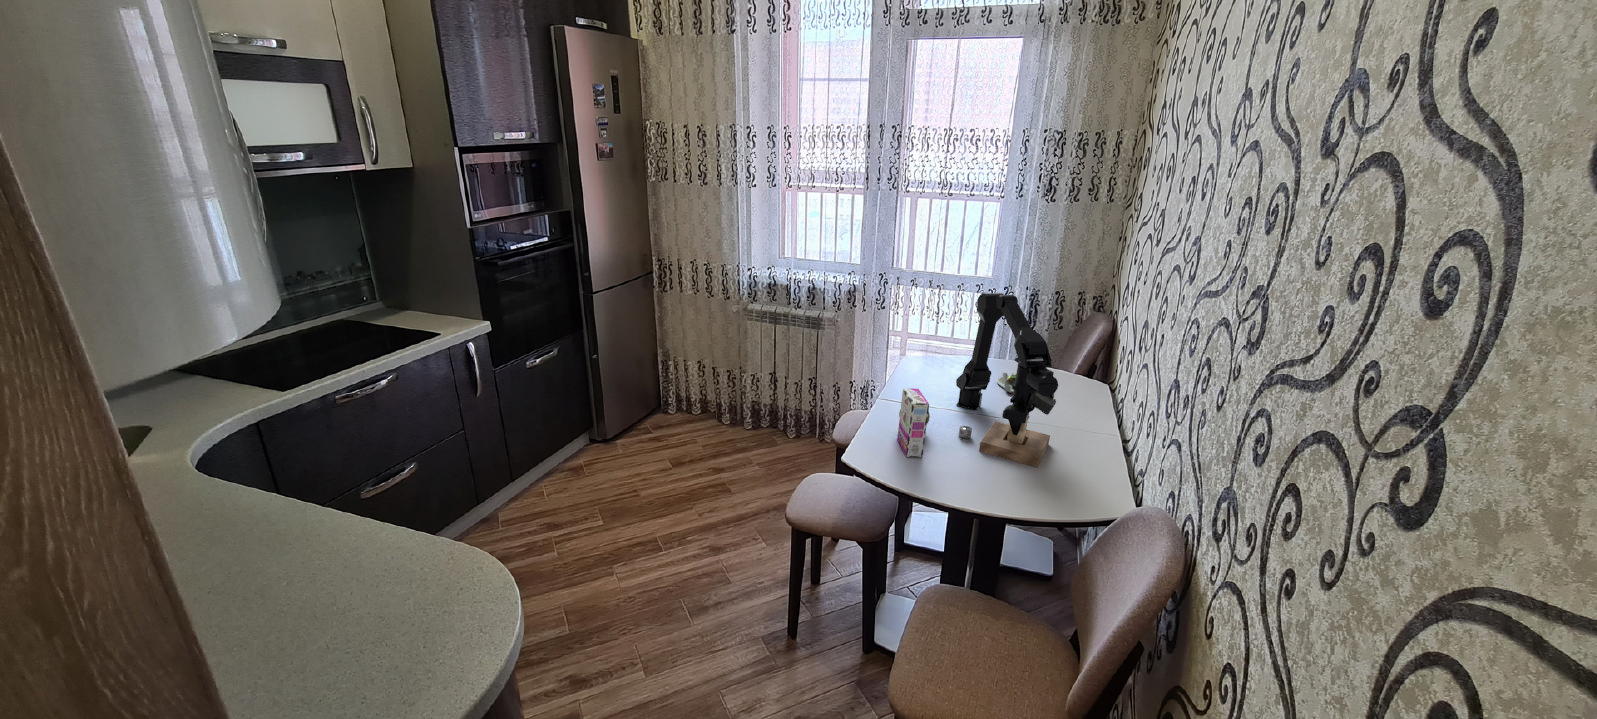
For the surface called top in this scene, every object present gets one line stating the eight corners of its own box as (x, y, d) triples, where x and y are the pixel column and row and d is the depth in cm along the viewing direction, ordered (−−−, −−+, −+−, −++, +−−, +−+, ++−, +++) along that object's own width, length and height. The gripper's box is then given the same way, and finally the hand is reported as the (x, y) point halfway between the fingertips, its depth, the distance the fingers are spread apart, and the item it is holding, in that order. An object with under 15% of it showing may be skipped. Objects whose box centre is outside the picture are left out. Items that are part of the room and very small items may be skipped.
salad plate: (983, 378, 229) (985, 366, 228) (1026, 376, 233) (1028, 364, 232) (1011, 399, 212) (1013, 387, 210) (1056, 396, 216) (1059, 384, 214)
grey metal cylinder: (956, 438, 182) (958, 429, 181) (960, 433, 185) (961, 424, 184) (968, 441, 181) (970, 432, 180) (972, 436, 184) (973, 427, 182)
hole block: (978, 450, 175) (980, 441, 174) (993, 430, 188) (995, 421, 187) (1037, 467, 168) (1039, 457, 167) (1048, 444, 180) (1050, 435, 179)
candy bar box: (923, 458, 170) (930, 404, 164) (906, 458, 170) (912, 404, 164) (913, 439, 181) (919, 387, 175) (896, 439, 180) (901, 387, 174)
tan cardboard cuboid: (1006, 440, 176) (1010, 418, 174) (1010, 435, 180) (1014, 413, 177) (1021, 444, 174) (1025, 422, 172) (1024, 439, 178) (1028, 417, 175)
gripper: (1050, 400, 159) (1039, 453, 165) (1062, 378, 174) (1052, 427, 180) (1006, 390, 165) (997, 441, 170) (1022, 369, 180) (1013, 417, 185)
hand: (1016, 432), depth 176 cm, fingers closed on tan cardboard cuboid, 4 cm apart
